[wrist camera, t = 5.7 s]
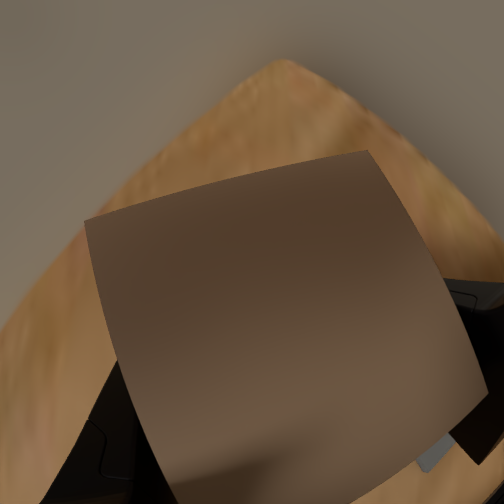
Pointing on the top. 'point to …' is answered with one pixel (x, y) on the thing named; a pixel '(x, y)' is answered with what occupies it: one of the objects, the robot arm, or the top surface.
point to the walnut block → (283, 333)
